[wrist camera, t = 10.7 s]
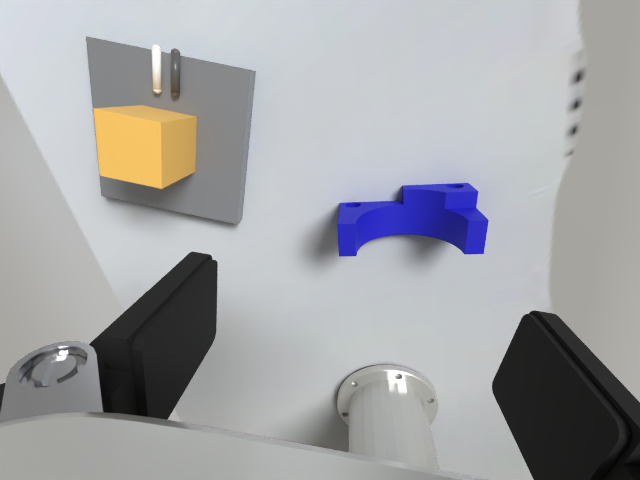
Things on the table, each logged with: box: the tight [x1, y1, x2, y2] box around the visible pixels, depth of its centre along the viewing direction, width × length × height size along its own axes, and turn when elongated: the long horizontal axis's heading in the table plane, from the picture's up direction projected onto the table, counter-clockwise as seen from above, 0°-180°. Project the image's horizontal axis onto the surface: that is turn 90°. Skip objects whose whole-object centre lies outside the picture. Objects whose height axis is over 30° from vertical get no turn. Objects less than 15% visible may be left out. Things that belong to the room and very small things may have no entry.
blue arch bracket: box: [338, 183, 488, 256], centre depth 30 cm, size 12×4×6 cm, turn 94°
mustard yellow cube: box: [94, 105, 197, 189], centre depth 28 cm, size 5×5×6 cm
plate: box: [86, 37, 256, 224], centre depth 29 cm, size 14×14×6 cm
